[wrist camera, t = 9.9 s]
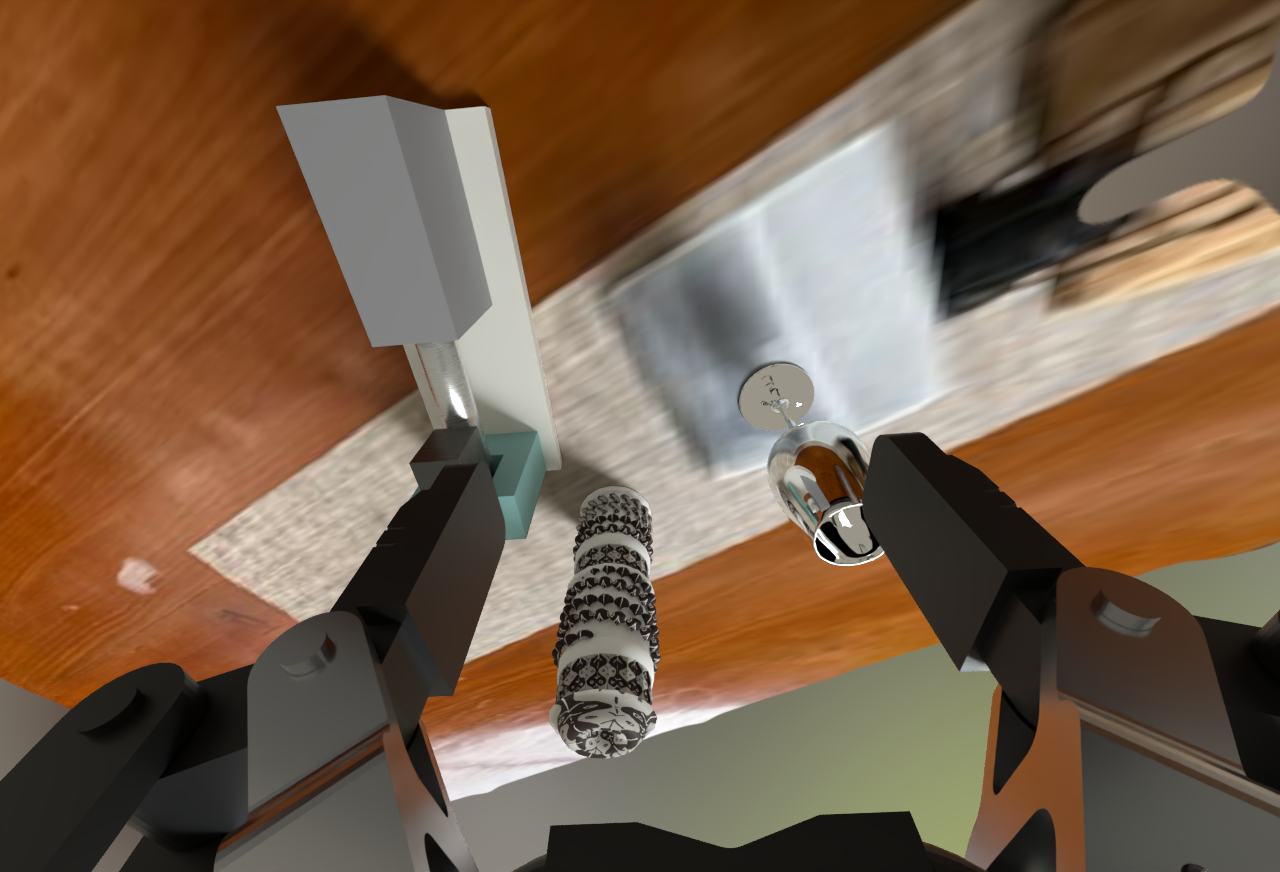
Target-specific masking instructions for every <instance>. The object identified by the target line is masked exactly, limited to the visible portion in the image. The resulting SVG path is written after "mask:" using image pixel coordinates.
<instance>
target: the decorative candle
mask: <svg viewBox="0 0 1280 872" xmlns="http://www.w3.org/2000/svg"><path fill="white" fill-rule="evenodd" d="M578 520H579V521H580V522H582V525H578V526H577V528H576V529H577V531H578V534H579V535H577V536H576V538H575V542H576V544H577V545H576V546H575V547H574V548H573V553H574V554H575V556H574V562H575V565H574V574H575V575H574V577H573V579H572V580H571V582H570V583H569V584H568V591H567V593H566V595H567V596H566V597H565V600H564V602H565V604H566V606H565V607H564V608H563V613H561V615H560V620H561V621H562V622H561V623H560V625H559V630H558V632H557V637H558V639H559V640H560V641H558V642H557V643H556V644H555V649H554V650H553V651H552V657H553V658H554V664H555V665H556V666H557V667H558V675H557V685H558V688H557V695H556V696H557V697H556V704H555V705H554V706H553V707H552V708H551V710H550V711H549V723H550V724H551V726H552V727H553V729H554V730H555V731H556V733H558V734H559V735H560V736H561V738H562V740H563V741H564V742H565V744H566V745H567V747H568V748H569V749H571V750H572V751H574V752H576V753H578V754H579V755H583V756H587V757H591V758H604V759H607V758H613V757H620V756H622V755H624V754H627V753H629V752H631V751H632V750H633V749H634V748H635V747H637V746H638V745H639V744H640V742H641V741H642V739H643V738H644V737H645V736H646V735H648V734H649V733H650V732H651V731H652V730H653V729H654V728H655V724H656V720H657V716H656V714H655V712H654V710H653V708H652V686H653V681H654V673H655V672H656V670H657V665H656V664H657V663H658V662H659V661H660V653H659V652H658V649H659V640H658V638H657V636H658V635H659V629H658V628H657V626H656V624H657V619H656V617H655V614H656V608H655V606H654V605H653V604H654V603H655V602H656V597H655V595H654V590H653V587H652V585H651V582H650V580H649V573H650V564H651V563H652V557H651V555H652V554H653V549H652V548H651V546H650V545H651V544H652V542H653V541H652V536H651V533H652V526H651V523H652V518H651V511H650V508H649V505H648V502H647V501H646V500H645V499H644V498H643V497H642V496H641V495H640V494H639V493H638V492H636V491H634V490H632V489H629V488H627V487H620V486H608V487H604V488H600V489H597V490H595V491H594V492H592V493H591V494H589V495H588V496H587V497H586V499H585V500H584V502H583V503H582V505H581V512H580V516H579V517H578ZM567 616H568V617H567ZM566 631H567V635H566V636H565V633H566ZM649 642H650V647H651V648H649ZM564 648H565V651H564V653H563V654H562V655H561V656H560V654H561V653H562V651H563V649H564Z"/></svg>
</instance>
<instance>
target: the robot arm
mask: <svg viewBox="0 0 1280 872" xmlns="http://www.w3.org/2000/svg"><path fill="white" fill-rule="evenodd" d="M862 509H863V514H864V518H865V521H866V523H867V525H868V527H869V528H870V530H871V532H872V533H873V535H874V536H875V538H876V539H877V541H878V543H879V544H880V546H881V547H882V549H883V551H884V552H885V554H886V555H887V557H888V559H889V560H890V562H891V563H892V565H893V567H894V568H895V570H896V571H897V573H898V575H899V576H900V578H901V579H902V581H903V583H904V584H905V586H906V587H907V589H908V591H909V592H910V594H911V595H912V597H913V598H914V600H915V602H916V603H917V605H918V606H919V608H920V610H921V611H922V613H923V614H924V616H925V618H926V619H927V621H928V622H929V624H930V626H931V627H932V629H933V630H934V632H935V634H936V635H937V637H938V638H939V640H940V642H941V643H942V645H943V646H944V648H945V649H946V651H947V653H948V654H949V656H950V657H951V659H952V661H953V662H954V664H955V665H956V667H957V669H958V670H959V672H968V671H987V670H990V671H991V673H992V674H993V675H994V677H995V678H996V680H997V681H998V685H997V687H996V689H995V691H994V693H993V698H992V707H991V716H990V725H989V734H988V743H987V751H986V761H985V769H984V779H983V787H982V796H981V803H980V808H979V812H978V816H977V819H976V822H975V825H974V827H973V830H972V833H971V836H970V839H969V843H968V847H967V851H966V855H965V859H964V858H962V857H960V856H958V855H956V854H954V853H951V852H949V851H947V850H944V849H942V848H939V847H937V846H934V845H932V844H929V843H925V842H922V840H921V837H920V835H919V832H918V830H917V828H916V825H915V823H914V820H913V818H912V816H911V813H910V812H909V811H906V812H880V813H855V814H831V815H818V816H816V817H813V818H811V819H808V820H806V821H803V822H801V823H798V824H796V825H793V826H791V827H788V828H786V829H784V830H781V831H778V832H776V833H773V834H771V835H768V836H766V837H763V838H761V839H758V840H756V841H753V842H751V843H748V844H746V845H743V846H740V847H737V848H724V847H720V846H716V845H712V844H709V843H706V842H702V841H699V840H695V839H692V838H689V837H686V836H682V835H679V834H675V833H672V832H668V831H665V830H662V829H658V828H655V827H651V826H648V825H645V824H641V823H638V822H632V823H631V822H630V823H605V824H580V825H557V826H556V825H555V826H550V834H549V841H548V849H547V854H545V855H543V856H540V857H538V858H536V859H534V860H532V861H530V862H528V863H527V864H525V865H523V866H521V867H519V868H518V869H516V870H514V871H513V872H1280V610H1279V611H1278V612H1277V613H1276V614H1275V615H1274V616H1273V617H1272V618H1271V619H1270V620H1269V621H1268V622H1267V623H1266V624H1265V625H1264V626H1263V627H1262V628H1261V627H1255V626H1249V625H1244V624H1238V623H1233V622H1227V621H1221V620H1216V619H1210V618H1205V617H1199V616H1194V615H1192V614H1190V612H1189V611H1188V610H1186V609H1185V608H1184V607H1183V606H1182V605H1181V604H1180V603H1178V602H1177V601H1175V600H1174V599H1173V598H1171V597H1170V596H1169V595H1167V594H1165V593H1164V592H1162V591H1160V590H1158V589H1157V588H1155V587H1153V586H1151V585H1149V584H1147V583H1145V582H1143V581H1140V580H1138V579H1136V578H1133V577H1131V576H1128V575H1125V574H1122V573H1118V572H1115V571H1111V570H1106V569H1101V568H1092V567H1086V566H1085V565H1083V564H1082V563H1081V562H1080V561H1079V560H1078V559H1077V558H1076V557H1075V556H1074V555H1072V554H1071V553H1070V552H1069V551H1068V550H1067V549H1066V548H1065V547H1064V546H1063V545H1062V544H1060V543H1059V542H1058V541H1057V540H1056V539H1055V538H1054V537H1053V536H1052V535H1051V534H1049V533H1048V532H1047V531H1046V530H1045V529H1044V528H1043V527H1042V526H1041V525H1040V524H1038V523H1037V522H1036V521H1035V520H1034V519H1033V518H1032V517H1031V516H1030V515H1029V514H1027V513H1026V512H1025V511H1024V510H1023V509H1022V508H1021V507H1020V508H1017V506H1016V503H1015V502H1014V501H1013V500H1012V499H1011V498H1010V497H1009V496H1008V495H1007V494H1006V493H1004V492H1000V491H999V487H998V486H997V485H996V484H995V483H993V482H992V481H991V480H990V479H989V478H988V477H987V476H986V475H985V474H984V473H982V472H981V471H980V470H979V469H977V468H975V467H973V466H972V465H970V464H968V463H966V462H964V461H962V460H960V459H958V458H956V457H955V456H953V455H946V454H945V453H944V452H943V451H942V450H941V449H940V448H939V447H938V446H937V445H936V444H935V443H934V442H932V441H931V440H930V439H929V438H928V437H927V436H926V435H925V434H923V433H921V432H913V433H899V434H885V435H879V436H878V437H877V438H876V440H875V441H874V444H873V448H872V453H871V457H870V462H869V467H868V471H867V476H866V480H865V485H864V490H863V494H862ZM387 527H388V530H385V531H384V532H383V534H382V535H381V537H380V538H379V540H378V541H377V543H376V544H377V546H376V547H373V549H372V550H371V552H370V553H369V554H368V556H367V557H366V559H365V560H364V562H363V563H362V565H361V566H360V568H359V569H358V571H357V572H356V574H355V575H354V577H353V578H352V580H351V581H350V582H349V584H348V585H347V587H346V588H345V590H344V591H343V593H342V594H341V596H340V597H339V599H338V600H337V602H336V603H335V605H334V606H333V608H332V609H331V611H330V612H327V613H322V614H319V615H316V616H313V617H311V618H308V619H306V620H304V621H302V622H300V623H298V624H296V625H295V626H293V627H291V628H290V629H288V630H287V631H285V632H284V633H283V634H282V635H280V636H279V637H278V638H276V639H275V640H274V641H273V642H272V643H271V644H270V645H269V646H268V647H267V648H266V649H265V650H264V651H263V653H262V654H261V655H260V656H259V658H258V659H257V661H256V662H255V663H254V664H251V665H248V666H245V667H242V668H239V669H236V670H233V671H229V672H226V673H223V674H220V675H217V676H214V677H211V678H208V679H205V680H202V681H198V682H195V681H194V680H193V679H192V678H191V677H190V676H189V675H188V674H187V673H186V672H185V671H184V670H183V669H182V668H181V667H180V666H178V665H176V664H173V663H157V664H152V665H148V666H145V667H141V668H139V669H136V670H133V671H131V672H129V673H126V674H124V675H122V676H120V677H118V678H116V679H114V680H113V681H111V682H109V683H107V684H105V685H104V686H102V687H101V688H99V689H98V690H96V691H95V692H93V693H92V694H90V695H89V696H88V697H86V698H85V699H83V700H82V701H81V702H80V703H78V704H77V705H76V706H75V707H74V708H72V709H71V710H70V711H69V712H68V713H67V714H66V715H65V716H64V717H63V718H62V719H61V720H60V721H59V722H58V723H57V724H56V725H55V726H54V727H53V728H52V729H51V730H50V731H49V732H48V733H47V734H46V735H45V736H44V737H43V738H42V739H41V740H40V741H39V742H38V743H37V744H36V745H35V746H34V747H33V748H32V749H31V750H30V751H29V752H28V754H26V755H25V756H24V757H23V759H21V761H20V762H19V763H18V764H17V765H16V766H15V767H14V768H13V769H12V770H11V771H10V772H9V773H8V774H7V775H6V776H5V777H4V778H3V779H2V780H1V781H0V872H91V871H92V870H93V868H94V867H95V866H96V865H97V863H98V862H99V860H100V859H101V858H102V856H103V855H104V853H105V852H106V851H107V849H108V848H109V847H110V845H111V844H112V842H113V841H114V840H115V838H116V837H117V835H118V834H119V833H120V831H121V830H122V829H123V827H124V826H125V824H127V825H128V826H130V827H132V828H133V829H135V830H136V831H138V832H139V833H141V834H143V835H144V836H143V838H142V839H141V840H140V842H139V843H138V845H137V846H136V848H135V849H134V851H133V852H132V854H131V855H130V856H129V858H128V859H127V861H126V862H125V864H124V865H123V867H122V868H121V870H120V871H119V872H479V871H478V868H477V866H476V863H475V861H474V859H473V856H472V854H471V852H470V850H469V848H468V846H467V844H466V842H465V840H464V838H463V835H462V833H461V831H460V828H459V826H458V823H457V821H456V818H455V815H454V812H453V809H452V806H451V803H450V800H449V797H448V794H447V791H446V788H445V785H444V782H443V779H442V776H441V773H440V770H439V767H438V764H437V762H436V759H435V756H434V753H433V750H432V747H431V744H430V741H429V738H428V735H427V732H426V729H425V726H424V724H423V722H422V720H421V718H420V716H421V714H422V711H423V708H424V706H425V703H426V701H427V698H428V697H433V696H453V694H454V691H455V688H456V685H457V682H458V679H459V676H460V673H461V670H462V668H463V665H464V662H465V659H466V656H467V653H468V650H469V647H470V644H471V641H472V638H473V635H474V633H475V630H476V627H477V624H478V621H479V618H480V615H481V612H482V609H483V606H484V603H485V600H486V598H487V595H488V592H489V589H490V586H491V583H492V580H493V577H494V574H495V571H496V568H497V565H498V563H499V560H500V557H501V554H502V551H503V548H504V544H505V536H506V527H505V519H504V516H503V512H502V509H501V506H500V503H499V499H498V496H497V493H496V490H495V486H494V483H493V480H492V477H491V473H490V470H489V468H488V466H487V465H486V464H485V463H484V462H473V463H459V464H447V465H445V466H444V467H443V468H442V470H441V471H440V473H439V475H438V476H437V478H436V479H435V481H434V483H433V484H432V486H431V487H430V489H429V490H421V491H420V492H419V493H417V494H416V495H415V496H414V497H412V498H411V499H410V500H409V501H408V502H406V503H405V504H404V505H403V506H401V507H400V509H399V510H398V512H397V513H396V515H395V516H394V518H393V519H392V521H391V522H390V523H389V525H388V526H387Z"/></svg>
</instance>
